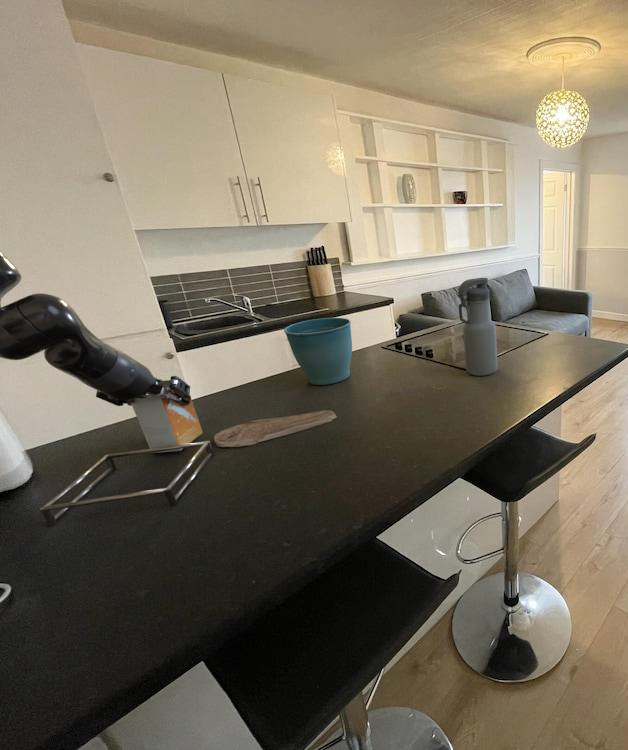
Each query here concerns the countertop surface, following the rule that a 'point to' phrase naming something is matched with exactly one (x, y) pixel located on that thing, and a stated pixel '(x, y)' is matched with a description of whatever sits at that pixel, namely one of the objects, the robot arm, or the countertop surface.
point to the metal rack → (168, 491)
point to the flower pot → (322, 348)
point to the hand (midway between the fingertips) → (168, 403)
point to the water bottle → (478, 328)
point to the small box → (167, 422)
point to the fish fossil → (270, 428)
